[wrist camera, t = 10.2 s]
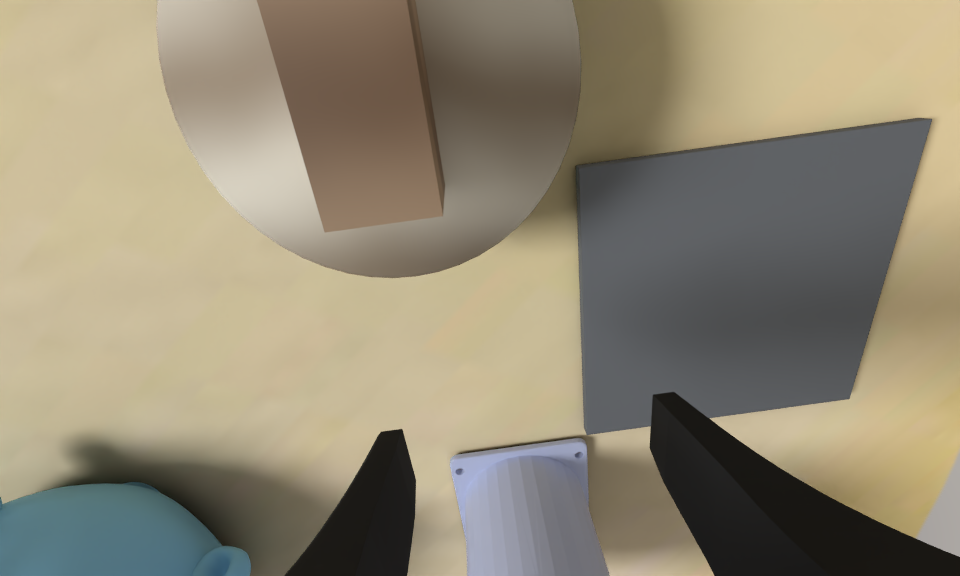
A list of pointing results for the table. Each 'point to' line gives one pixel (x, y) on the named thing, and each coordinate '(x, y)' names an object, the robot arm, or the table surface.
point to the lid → (375, 119)
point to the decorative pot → (110, 535)
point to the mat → (737, 270)
